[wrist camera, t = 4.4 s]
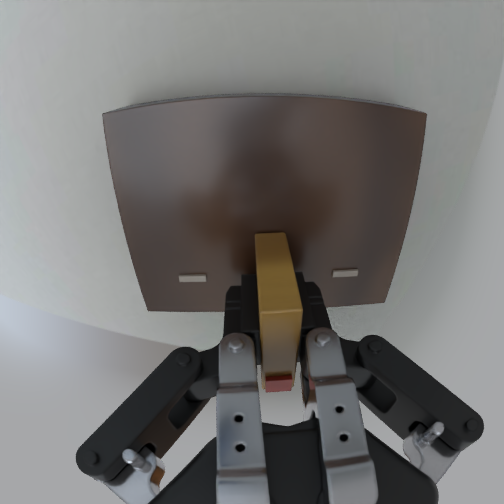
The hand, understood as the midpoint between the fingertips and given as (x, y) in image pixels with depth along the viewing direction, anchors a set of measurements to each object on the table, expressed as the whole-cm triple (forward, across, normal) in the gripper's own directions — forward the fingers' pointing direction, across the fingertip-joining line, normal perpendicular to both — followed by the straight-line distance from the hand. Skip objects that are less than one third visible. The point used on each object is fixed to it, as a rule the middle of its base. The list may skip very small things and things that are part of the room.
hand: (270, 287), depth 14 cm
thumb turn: (+1, 0, 0) cm, 1 cm away
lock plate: (+4, 0, -3) cm, 5 cm away
